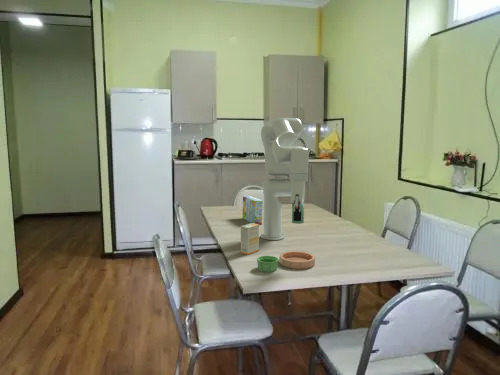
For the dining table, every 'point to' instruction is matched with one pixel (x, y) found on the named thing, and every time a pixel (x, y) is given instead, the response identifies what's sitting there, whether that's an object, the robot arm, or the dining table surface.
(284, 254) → the round dish
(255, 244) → the supplement box
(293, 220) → the teal tapered rounded piece
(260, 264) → the ramekin
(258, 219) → the snack box
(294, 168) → the robot arm
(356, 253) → the dining table surface
